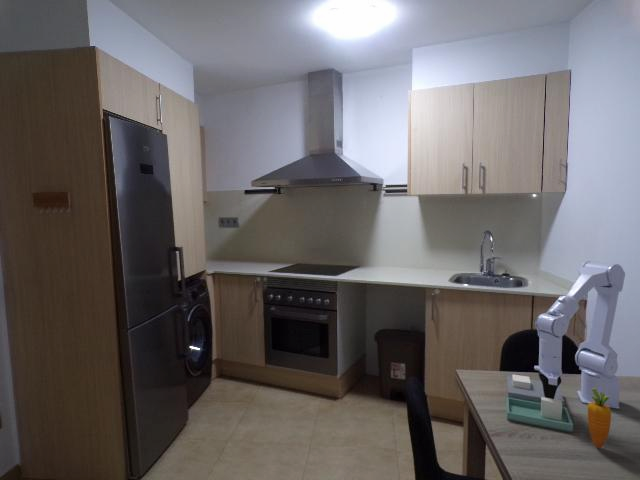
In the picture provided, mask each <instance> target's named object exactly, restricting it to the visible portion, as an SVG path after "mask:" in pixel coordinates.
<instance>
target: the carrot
mask: <svg viewBox="0 0 640 480" xmlns="http://www.w3.org/2000/svg"><path fill="white" fill-rule="evenodd" d="M592 390H593V392H594V394H595V396H596V397H594V396H591V397H592V398H593V399H594V401H595V402H591V403H589V404H587V422H588V423H587V424H588V425H587V426H588V430H589V435H590V438H591V441H592V443H593V444H594V446H595V448H596V449H600V448H601V447H603V446H604V444H605V443H606V441H607V439H608V436H609V433H610V427H611V421H612V412H611V407H608V406H606V405H604V403H605V402H606V401H607V400H608V399H609V397H608V396H605V397H604V393H603V392H600V395H601V400H600V396H599V394H598V392H597V390H596V389H595V388H593V389H592Z"/></svg>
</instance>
